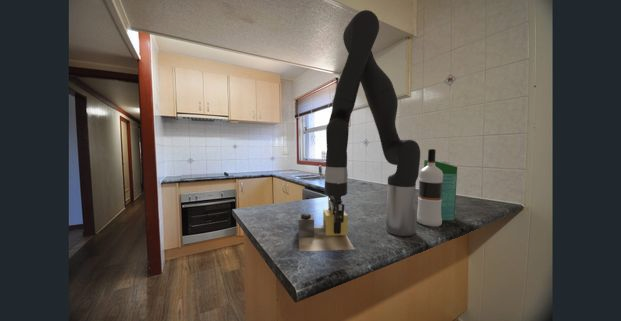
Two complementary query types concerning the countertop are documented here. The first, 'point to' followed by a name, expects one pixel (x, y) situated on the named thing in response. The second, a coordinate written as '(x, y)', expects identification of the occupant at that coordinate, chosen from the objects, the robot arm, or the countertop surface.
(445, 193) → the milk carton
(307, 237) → the peg board base
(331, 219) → the yellow cube with hole
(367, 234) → the countertop surface
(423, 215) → the vodka
